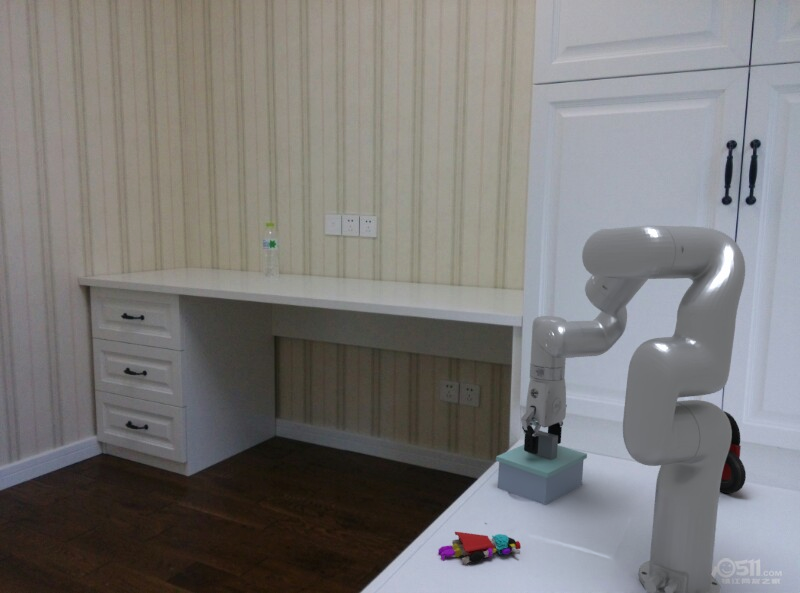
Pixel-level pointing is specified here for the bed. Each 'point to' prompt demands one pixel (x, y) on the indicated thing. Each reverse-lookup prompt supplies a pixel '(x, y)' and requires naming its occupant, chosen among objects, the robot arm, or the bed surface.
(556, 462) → the lid
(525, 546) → the bed surface
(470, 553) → the toy
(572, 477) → the box
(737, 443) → the headphones
